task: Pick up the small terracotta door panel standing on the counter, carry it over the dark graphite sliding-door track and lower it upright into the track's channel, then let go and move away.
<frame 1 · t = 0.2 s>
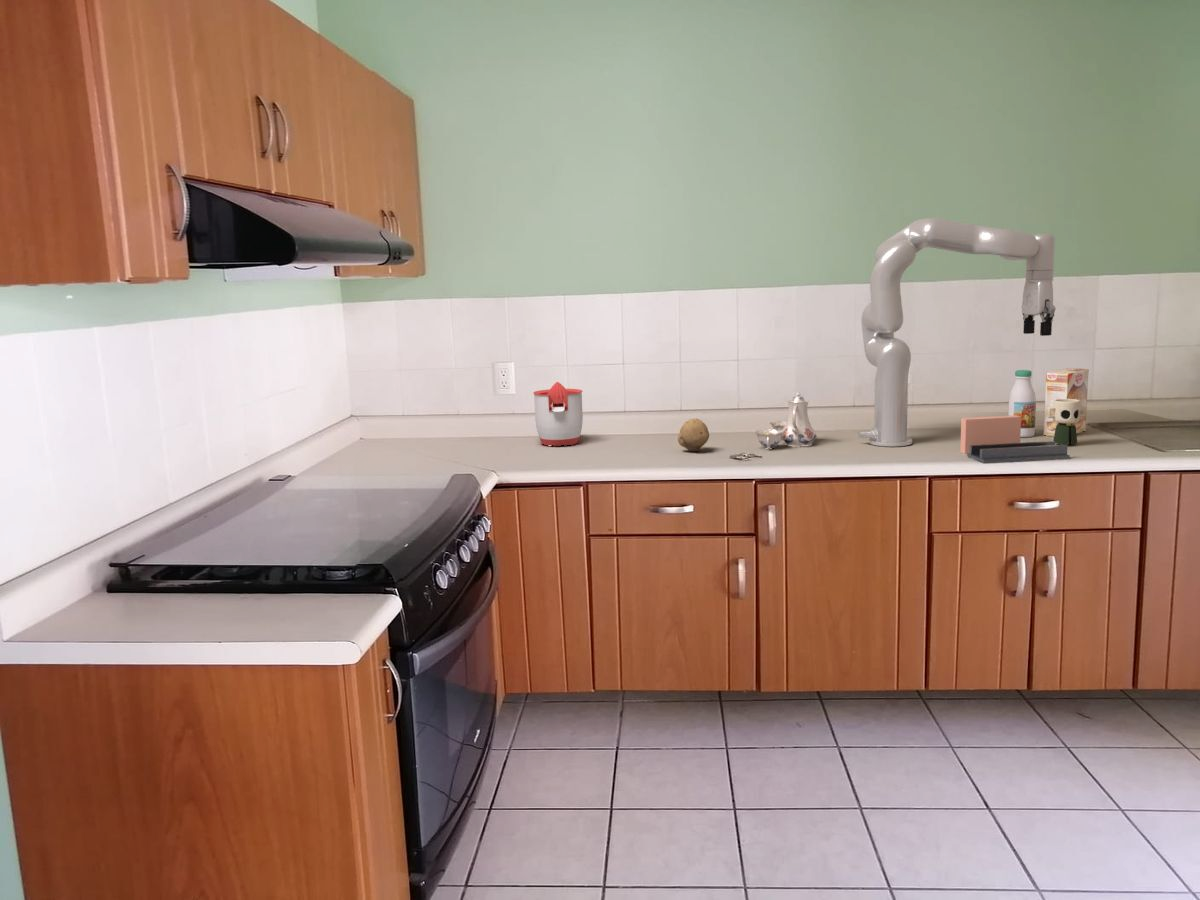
hand: (1037, 334, 307), 31 cm above the counter, tool pointing down, fingers open, 9 cm apart
chinaware: (788, 445, 314), on the counter
door panel: (990, 452, 290), on the counter
coffeecake box: (1064, 434, 316), on the counter
milk bottle: (1021, 436, 314), on the counter
character mug: (1065, 445, 297), on the counter
door track: (1017, 457, 281), on the counter
citrus juicer: (560, 445, 328), on the counter
brown round lump: (695, 452, 307), on the counter
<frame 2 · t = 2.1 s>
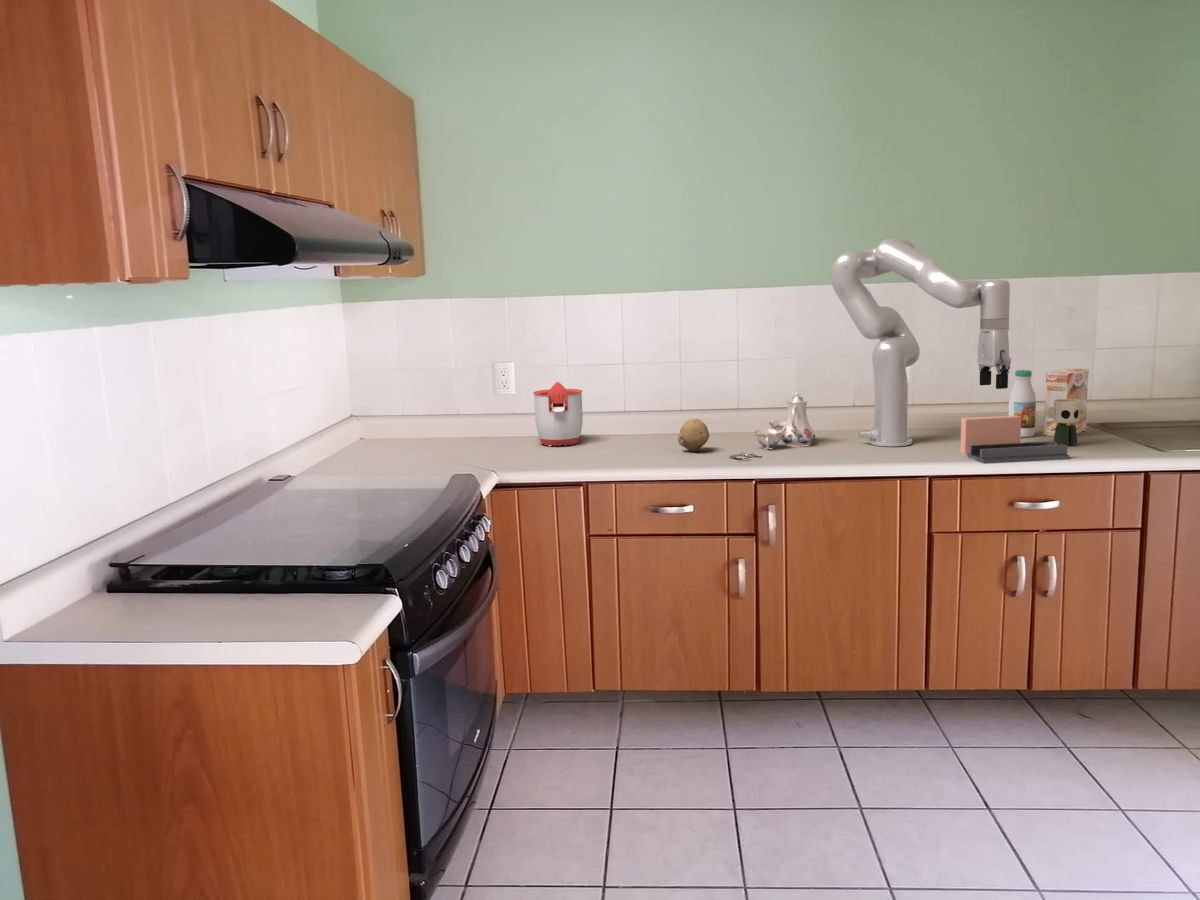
hand: (993, 386, 287), 19 cm above the counter, tool pointing down, fingers open, 9 cm apart
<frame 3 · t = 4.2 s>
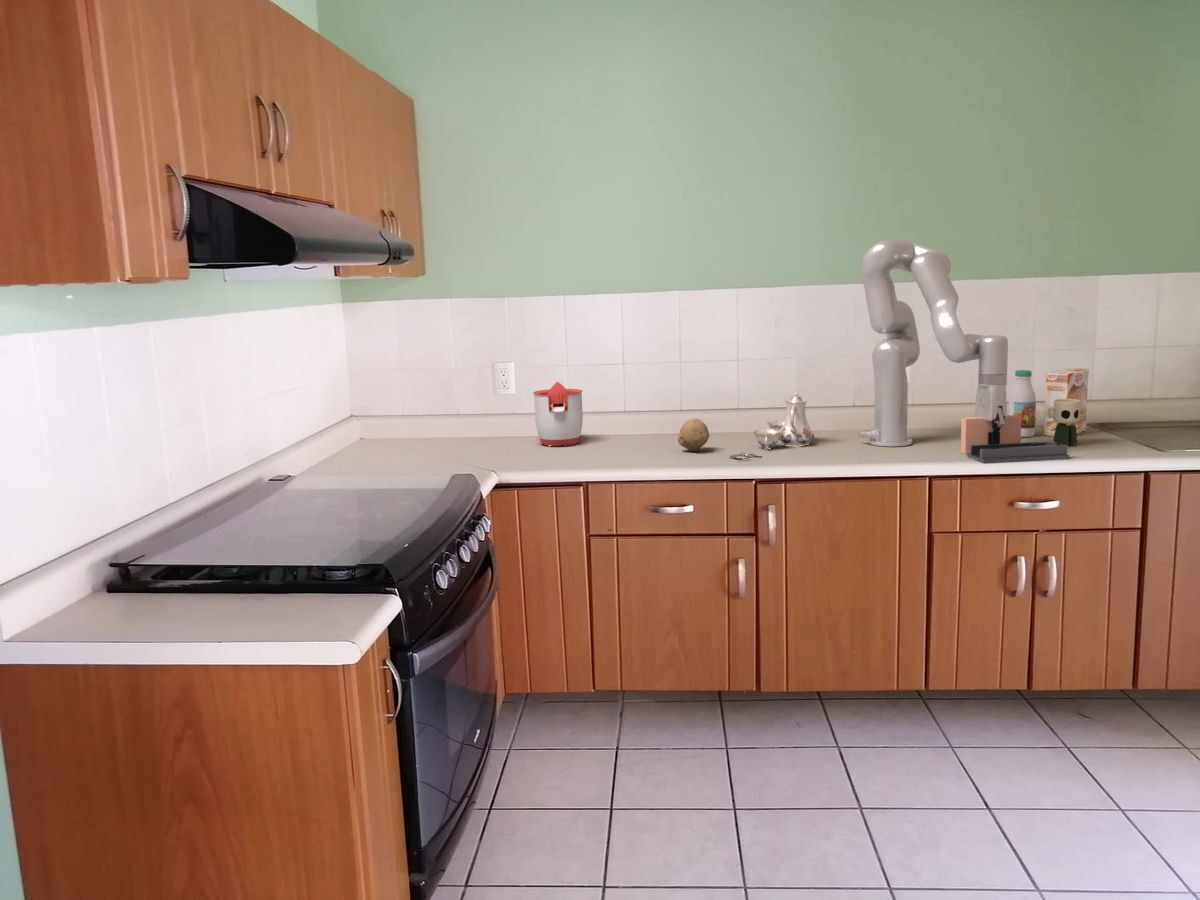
hand: (990, 444, 290), 2 cm above the counter, tool pointing down, fingers closed on door panel, 3 cm apart
door panel: (990, 452, 290), on the counter, touching gripper
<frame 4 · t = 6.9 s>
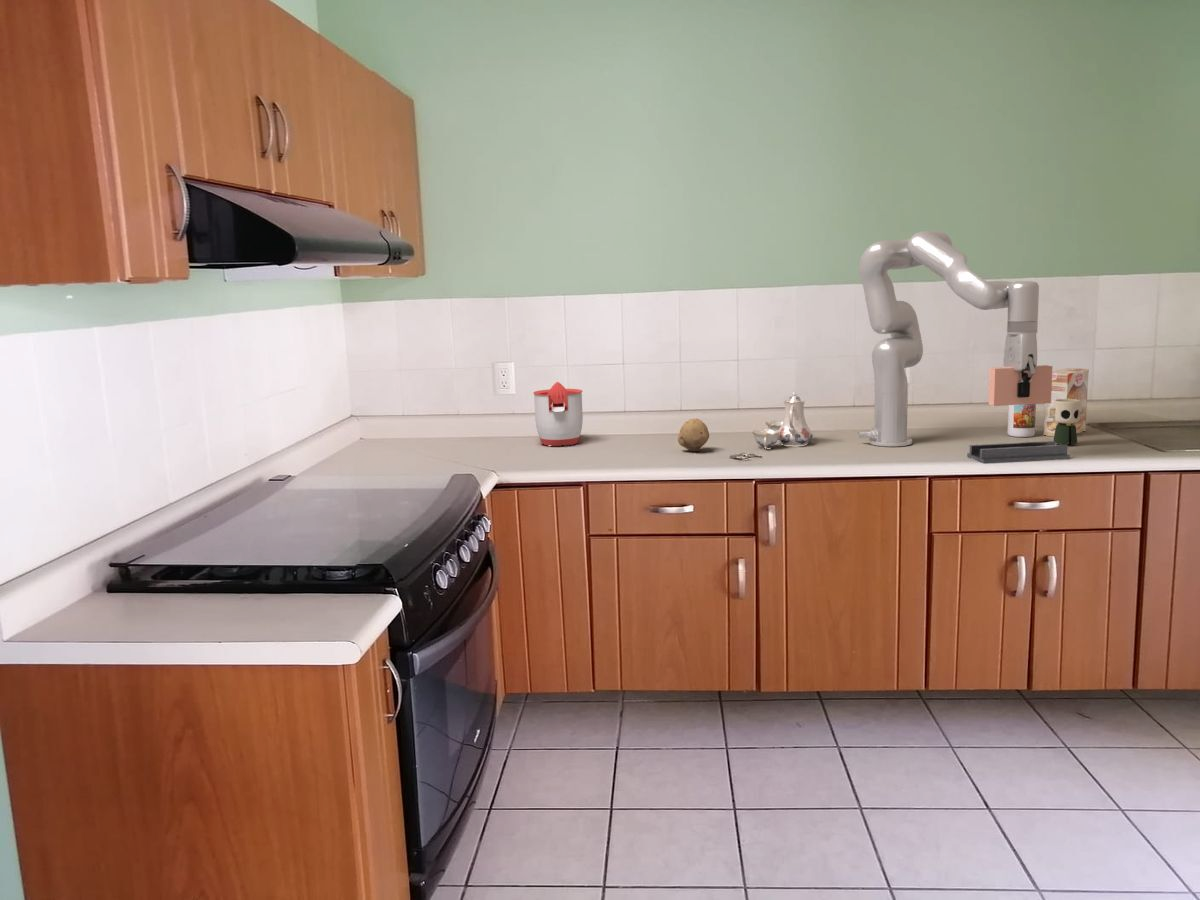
hand: (1019, 395, 278), 17 cm above the counter, tool pointing down, fingers closed on door panel, 3 cm apart
door panel: (1019, 403, 278), point 15 cm above the counter, touching gripper
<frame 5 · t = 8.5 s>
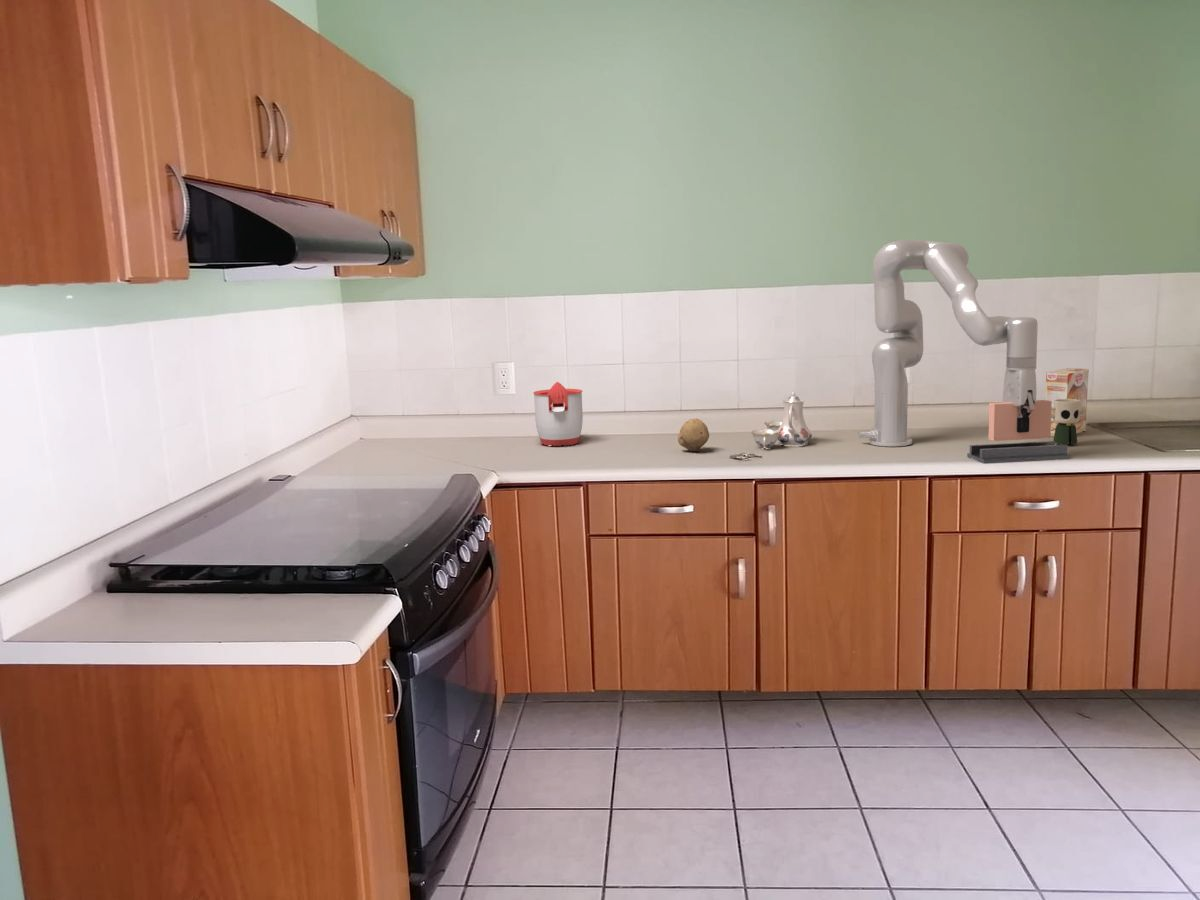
hand: (1019, 430, 279), 8 cm above the counter, tool pointing down, fingers closed on door panel, 3 cm apart
door panel: (1019, 438, 279), point 5 cm above the counter, touching gripper
when the fingers open (5 cm above the counter, at t = 9.8 s): door panel drops 1 cm, resting on door track.
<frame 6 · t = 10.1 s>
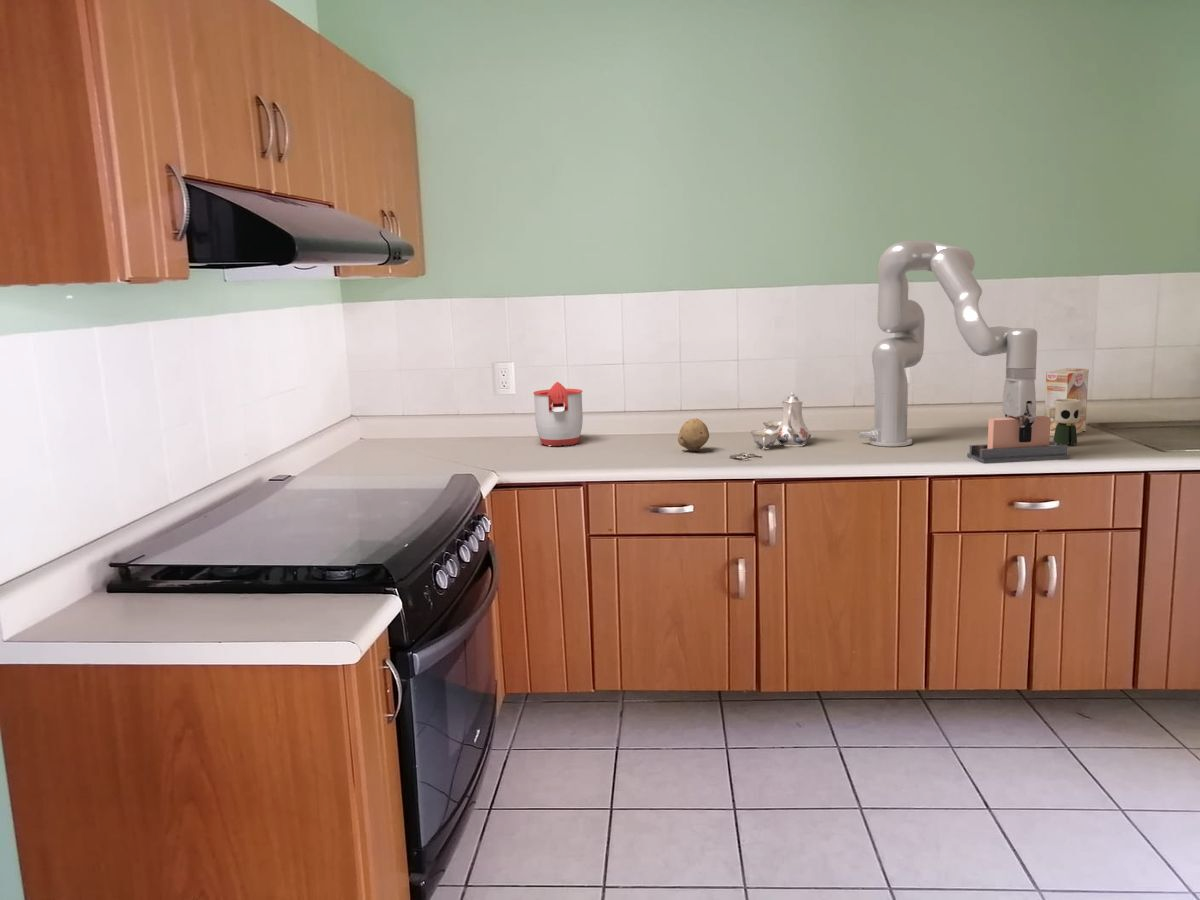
hand: (1018, 439, 280), 5 cm above the counter, tool pointing down, fingers open, 6 cm apart
door panel: (1017, 454, 280), point 1 cm above the counter, touching door track
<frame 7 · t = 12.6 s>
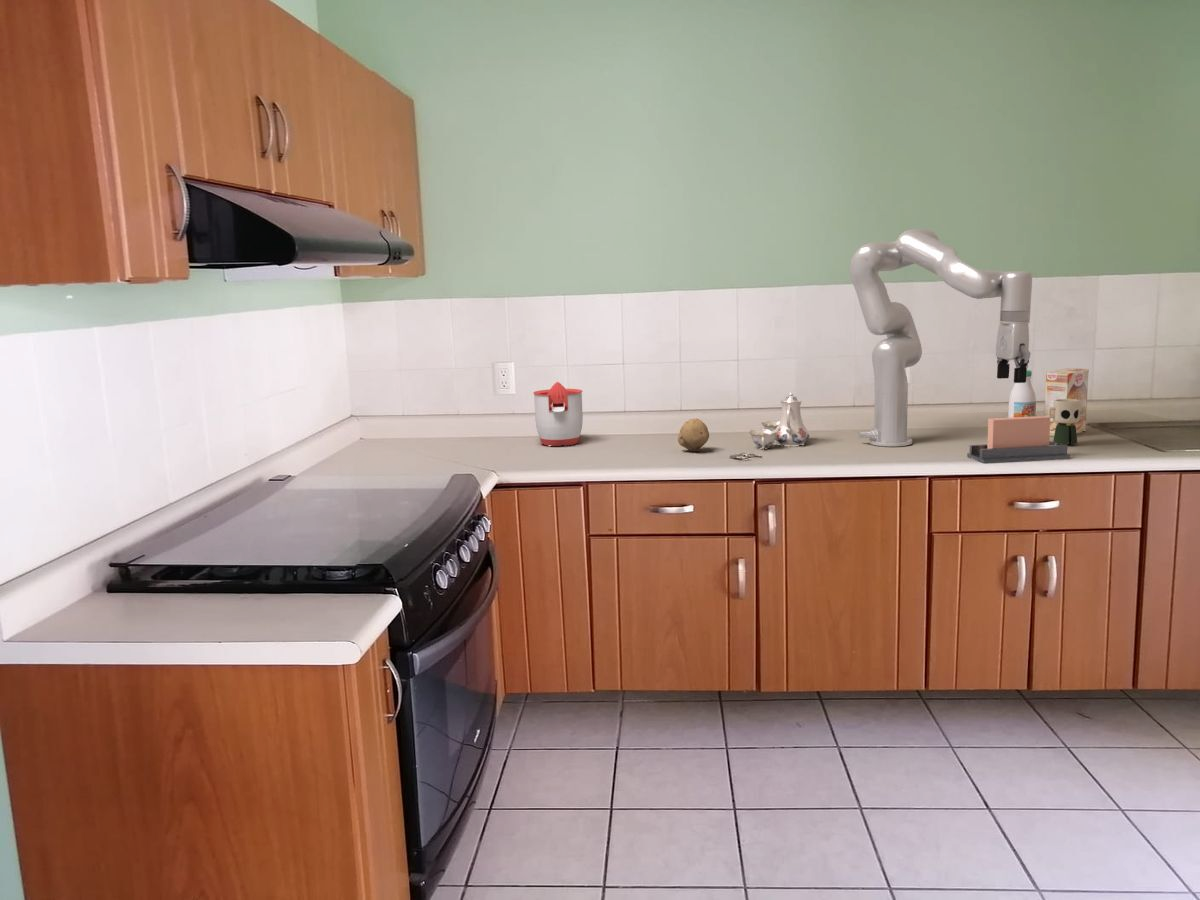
hand: (1011, 380, 280), 21 cm above the counter, tool pointing down, fingers open, 9 cm apart
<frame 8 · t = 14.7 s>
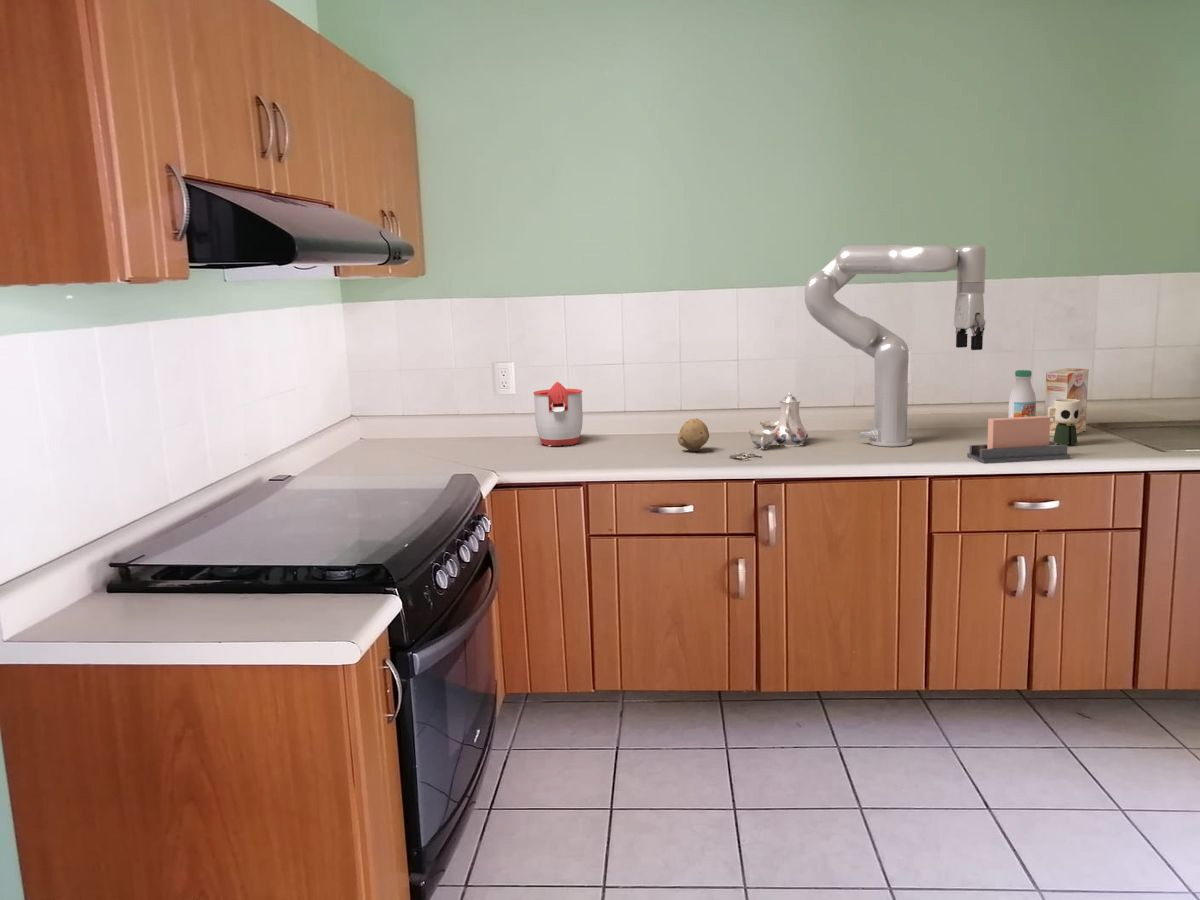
hand: (968, 348, 298), 28 cm above the counter, tool pointing down, fingers open, 9 cm apart
at the end: door panel inside the target area on the door track (0.1 cm from its centre), point 1.0 cm above the door track's base; door panel tilted 0°; the gripper is holding nothing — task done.
